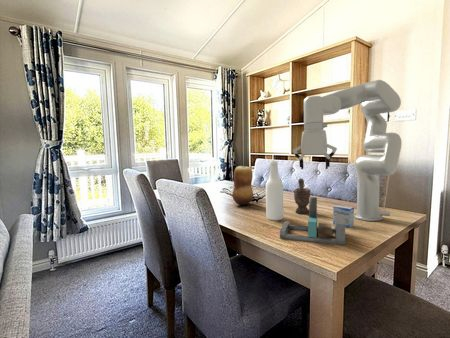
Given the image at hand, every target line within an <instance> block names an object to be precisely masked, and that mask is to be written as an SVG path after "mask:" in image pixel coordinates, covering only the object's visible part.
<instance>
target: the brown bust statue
mask: <svg viewBox="0 0 450 338" xmlns="http://www.w3.org/2000/svg"><path fill="white" fill-rule="evenodd" d="M293 193H294V194H293V197H294V202H295V204H296V205H297V208H296V210H295V213H297V214H300V215H307V214H308V215H309V208H308V206H309V197H311V189H310V188H307V187H305V179H303V178H299V179H298V188H294V189H293Z"/></svg>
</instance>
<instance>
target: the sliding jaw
mask: <svg viewBox="0 0 450 338" xmlns="http://www.w3.org/2000/svg"><path fill="white" fill-rule="evenodd" d="M308 209H309V213H308V221H307V226H308V231H307V236H308V237H314V238H316V237H317V236H318V232H317V227H318V212H317V211H318V197H316V196H310V197H309V204H308Z"/></svg>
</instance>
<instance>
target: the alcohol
mask: <svg viewBox="0 0 450 338" xmlns="http://www.w3.org/2000/svg"><path fill="white" fill-rule="evenodd" d="M278 162H279V161H278V160H275V159H274V160H270V161H269V177H268V179H267V181H266V183H265V207H266V208H265V210H266V211H265V213H266V215H265V216H266V219H268V220H270V221H281V220H283V218H284V217H285V216H284V184H283V181H282V180H281V179H280V177H279V176H280V175H279V168H278V167H279V166H278V164H279V163H278Z"/></svg>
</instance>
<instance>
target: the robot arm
mask: <svg viewBox="0 0 450 338" xmlns="http://www.w3.org/2000/svg"><path fill="white" fill-rule="evenodd" d="M401 104H402V100H401V97H400V95H399V94H398V93H397V92H396V90H395V89H394V88H393V87H392V86H391V84H388V83H387V82H386V81H384V80H382V79H376V80H373V81H368V82H363V83H360V84H356V85H353V86H351V87H347V88H344V89H341V90H339V91H335V92H332V93H330V94H327V95H324V96H320V95H313V96H307V97H305V98H304V99H303V131H302V132H301V142H300V145H299V146H297V147H294V149H292V153H293V154H294V156H295V158H297V159H298V160H299V168H300V169H301V170H304V159H303V158H304V157H305V156H320V155H321V156H322V155H323V156H325V169H326V170H328V169H329V167H330V159H331V158H332V157H333V156H334V155H335V153H336V152H337V151H338V148H337V147H336V146H333V145H332V144H331V145H330V144H328V139H327V138H328V137H327V133H326V132H327V131H326V130H324V128H328V123H324V116H329V115H334V114H336V113H339V111H341V110H346V109H350V108H353V107H355V106H357V105H360V110H361V112H362V114H363V116H364V117H365V120H366V129H365V135H364V138H363V143H362V144H363V145H362V147H363V150H364V151H365V152H367V153H374V154H363V155H360V156H358V157H357V158H356V160H355V163H354V164H355V171H356V175H357V176H356V179H357V183H356V186H357V188H356V190H357V193H356V196H357V197H356V212H354V219H357V220H361V221H367V222H368V221H369V222H378V221H380V222H381V221H382V220H383V216H386V217H391V212H390V211H385V210H381V209H380V181H379V179H378V177H377V176H385V177H387V176H392V175H393V174H395V173H396V171H397V168H398V163H399V158H400V154H401V149H402V144H403V143H402V138H401V136H400V135H399V134H398V133H396V132H387V128H388V123H387V121H386V119H385V118H384V117H383V116H382V114H386V113H387V114H388V113H393V112H396V111H398V110H399V109H400V107H401ZM300 149H301V150H300ZM328 149H331V152H330V153H328ZM297 151H301V152H300V153H301V155H300V154H299V153H298V152H297Z"/></svg>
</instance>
